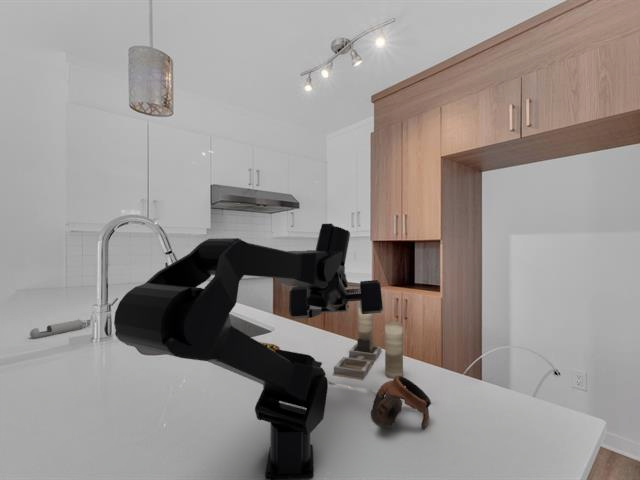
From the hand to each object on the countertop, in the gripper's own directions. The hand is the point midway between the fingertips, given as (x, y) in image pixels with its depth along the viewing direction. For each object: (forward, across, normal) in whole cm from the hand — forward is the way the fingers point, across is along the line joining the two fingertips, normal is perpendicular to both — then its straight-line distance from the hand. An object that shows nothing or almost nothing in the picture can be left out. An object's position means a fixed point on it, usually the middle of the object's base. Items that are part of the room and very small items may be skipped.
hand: (341, 309), depth 72 cm
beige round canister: (+11, -10, +14) cm, 21 cm away
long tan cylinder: (+22, -3, +7) cm, 23 cm away
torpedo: (+22, +104, -4) cm, 106 cm away
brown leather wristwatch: (-4, -10, +22) cm, 24 cm away
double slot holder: (+17, -2, +11) cm, 20 cm away
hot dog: (+14, +26, +9) cm, 31 cm away
